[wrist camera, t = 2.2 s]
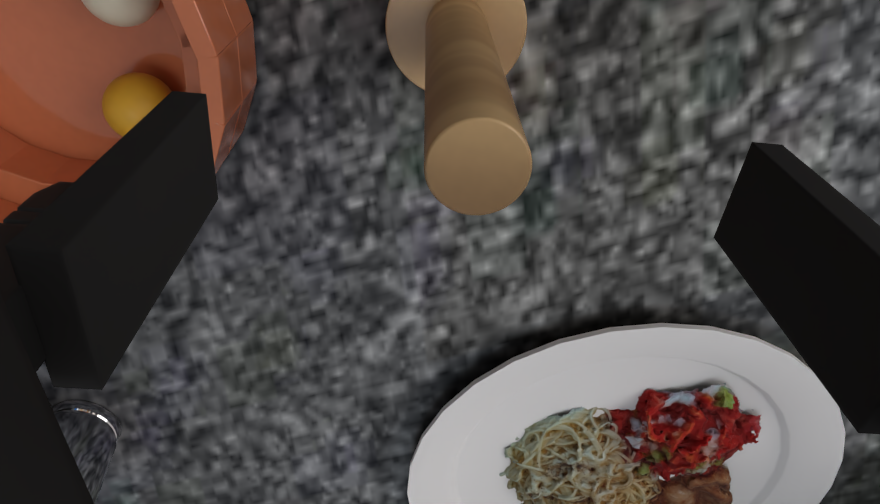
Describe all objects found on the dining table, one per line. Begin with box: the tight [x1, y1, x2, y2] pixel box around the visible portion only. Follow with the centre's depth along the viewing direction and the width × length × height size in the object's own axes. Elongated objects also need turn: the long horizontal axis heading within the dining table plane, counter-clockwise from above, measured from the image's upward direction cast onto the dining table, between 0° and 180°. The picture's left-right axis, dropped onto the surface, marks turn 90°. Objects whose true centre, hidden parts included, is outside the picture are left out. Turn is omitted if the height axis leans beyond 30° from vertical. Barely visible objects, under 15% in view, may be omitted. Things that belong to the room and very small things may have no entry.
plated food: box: [407, 323, 845, 504], centre depth 43 cm, size 30×30×3 cm
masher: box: [385, 0, 532, 215], centre depth 21 cm, size 6×6×15 cm
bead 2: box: [102, 72, 172, 137], centre depth 27 cm, size 3×3×3 cm
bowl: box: [0, 0, 257, 223], centre depth 25 cm, size 17×17×6 cm
